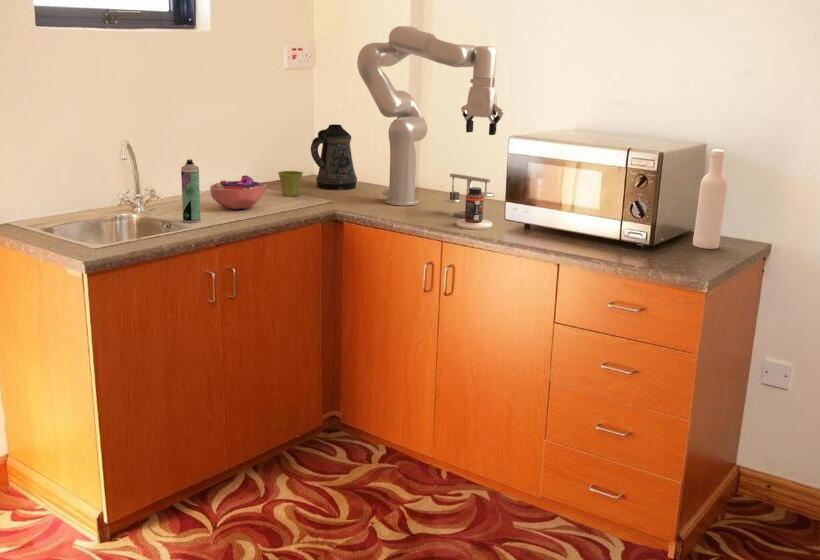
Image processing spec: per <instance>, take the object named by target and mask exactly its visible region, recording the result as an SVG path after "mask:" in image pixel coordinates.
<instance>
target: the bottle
mask: <svg viewBox="0 0 820 560" xmlns="http://www.w3.org/2000/svg"><path fill="white" fill-rule="evenodd" d="M724 158H725V151H724V150H723V149H712V150H711V152H710V162H709V163H710V164H709V169H708V173H707V174H705V175H704V176H703V177H702V179H701V181H700V185H699V195H698V200H697V202H698V203H697V209H696V216H695V224H694V232H693V233H694V234H693V235H692V236H693V237H692V245H693V247H695V248H700V249H707V250H716V249H718V248H719V247H720V243H721V234H722V233H721V232H722V226H723V225H722V224H723V219H724V218H723V217H724V212H725V211H724V210H725V202H726V195H727V189H728V183H727V179H726V177H725V176H724V175H723V174H722V171H723V165H724Z"/></svg>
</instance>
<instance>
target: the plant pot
mask: <svg viewBox="0 0 820 560" xmlns="http://www.w3.org/2000/svg"><path fill="white" fill-rule="evenodd" d="M303 174H304V172H303V171H298V170H283V171H278V172H277V175H278V176H279V179H280V186H281V187H280V188H281V193H282V196H285V197H291V198H292V197H294V196H296V197H298V196H299V194H300V188H301V187H300V186H301V180H302V177H303Z"/></svg>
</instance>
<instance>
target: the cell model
mask: <svg viewBox="0 0 820 560" xmlns="http://www.w3.org/2000/svg"><path fill="white" fill-rule="evenodd" d="M209 188H210V189H209V190H210V196H211V197H212V199H213V200H214V201H215V202H216V203H217V204H219V205H220V206H222V207H223V208H226V209H231V210H245V209H251V208H253V206H255V205H256V204H258V203H259V202H260V200H261V199H262V198H263V196H264V195H265V194H264V193H265V191H266V189H267V184H266V183H263V182H258V181H254V179H253V178H252V176H251V177H250V176H249V175H242V176H241V179H240V180H228V181H227V180H225V179H224V180H220V182H217V183H215V184H212V185H210V187H209Z"/></svg>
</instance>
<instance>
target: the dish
mask: <svg viewBox="0 0 820 560" xmlns="http://www.w3.org/2000/svg"><path fill="white" fill-rule="evenodd" d="M455 226H457V227H458V228H460V229H465V230H466V229H467V230H475V231H476V230H478V231H479V230H480V231H481V230H488V229H491V228H493V222H492V221H490V220H488V219H482V222H480V223H470V222H467V221H465V219H464V218H460V219H457V220H456V224H455Z"/></svg>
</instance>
